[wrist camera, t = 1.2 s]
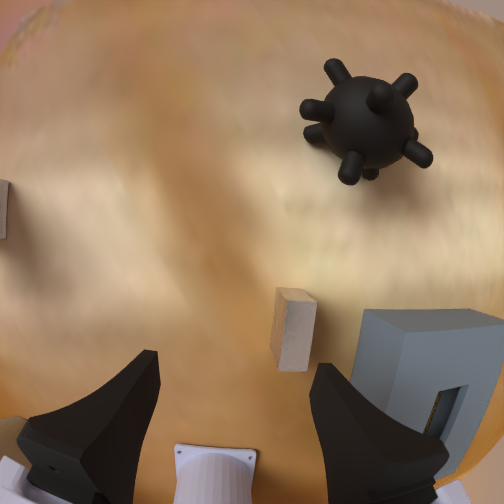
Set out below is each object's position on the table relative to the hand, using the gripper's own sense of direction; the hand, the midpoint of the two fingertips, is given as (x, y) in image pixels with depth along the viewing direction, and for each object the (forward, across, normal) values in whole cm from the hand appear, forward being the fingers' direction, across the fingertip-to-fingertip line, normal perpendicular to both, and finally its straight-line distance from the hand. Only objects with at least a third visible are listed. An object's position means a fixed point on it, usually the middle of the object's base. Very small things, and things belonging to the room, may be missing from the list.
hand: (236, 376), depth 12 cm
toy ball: (+15, -8, -12) cm, 21 cm away
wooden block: (+11, -4, +3) cm, 12 cm away
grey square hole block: (+9, -18, +11) cm, 23 cm away
